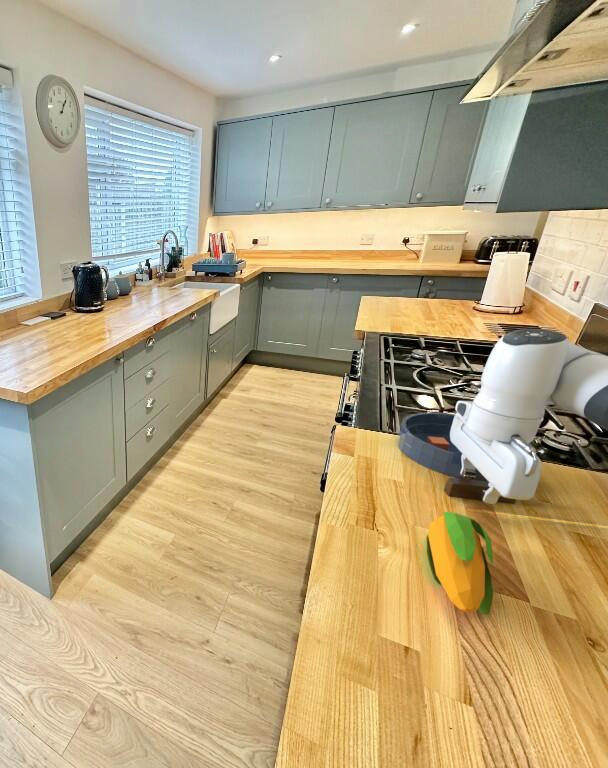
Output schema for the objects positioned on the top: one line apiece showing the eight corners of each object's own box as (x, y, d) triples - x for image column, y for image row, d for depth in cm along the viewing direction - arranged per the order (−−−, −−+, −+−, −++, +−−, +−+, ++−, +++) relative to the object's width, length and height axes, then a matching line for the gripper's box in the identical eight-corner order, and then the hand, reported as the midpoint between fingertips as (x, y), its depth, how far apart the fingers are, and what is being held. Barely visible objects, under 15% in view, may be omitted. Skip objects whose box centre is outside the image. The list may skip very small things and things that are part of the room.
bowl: (489, 437, 97) (496, 416, 95) (551, 492, 78) (561, 467, 76) (384, 429, 103) (388, 409, 101) (417, 477, 85) (424, 454, 82)
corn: (489, 505, 65) (519, 599, 49) (479, 544, 67) (505, 646, 52) (429, 493, 69) (439, 577, 53) (422, 531, 71) (429, 621, 56)
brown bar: (507, 500, 77) (513, 484, 76) (513, 506, 75) (520, 490, 74) (442, 492, 80) (447, 477, 79) (447, 498, 78) (452, 483, 77)
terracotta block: (440, 449, 93) (443, 437, 92) (446, 456, 90) (449, 444, 89) (424, 447, 94) (427, 436, 92) (429, 454, 91) (433, 442, 90)
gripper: (567, 456, 62) (533, 529, 67) (491, 400, 80) (470, 462, 85) (514, 451, 64) (486, 523, 69) (452, 397, 82) (433, 458, 87)
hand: (476, 488), depth 77 cm, fingers open, 6 cm apart
